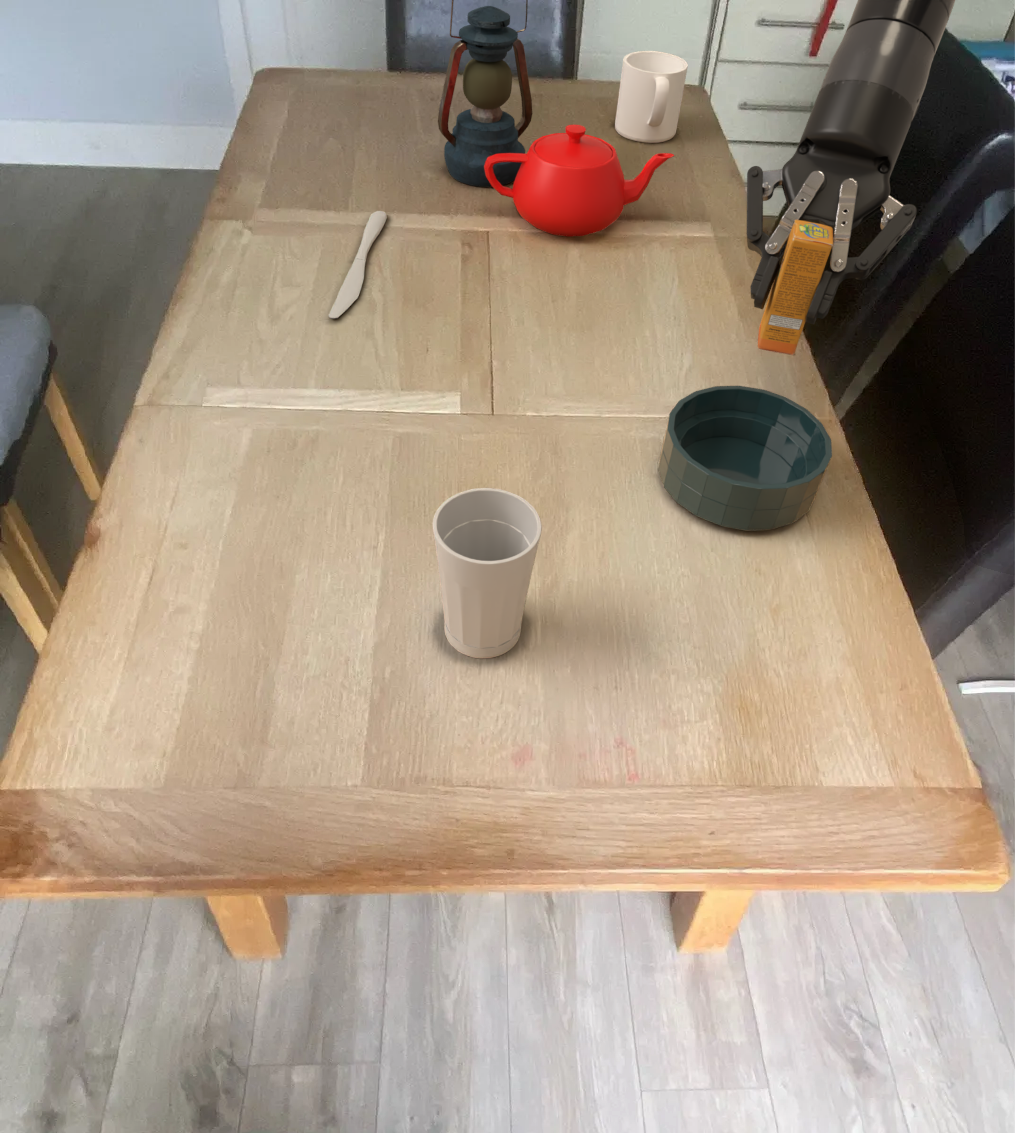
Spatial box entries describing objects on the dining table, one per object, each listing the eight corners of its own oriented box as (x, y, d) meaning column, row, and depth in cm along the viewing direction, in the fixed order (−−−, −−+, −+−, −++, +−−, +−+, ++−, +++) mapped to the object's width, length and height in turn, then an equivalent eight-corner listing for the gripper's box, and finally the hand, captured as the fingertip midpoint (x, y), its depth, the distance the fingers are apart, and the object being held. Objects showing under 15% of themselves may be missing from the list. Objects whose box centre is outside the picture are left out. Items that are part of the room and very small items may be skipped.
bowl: (810, 446, 93) (828, 399, 89) (814, 549, 83) (835, 501, 79) (664, 422, 95) (674, 375, 90) (650, 520, 85) (661, 471, 80)
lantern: (454, 195, 128) (456, -107, 103) (425, 161, 136) (420, -129, 110) (544, 182, 133) (567, -111, 107) (512, 149, 140) (526, -132, 114)
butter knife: (394, 211, 123) (373, 208, 123) (347, 320, 105) (321, 316, 105) (394, 215, 123) (373, 212, 123) (347, 324, 105) (321, 320, 105)
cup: (523, 673, 72) (533, 571, 63) (424, 658, 72) (421, 554, 64) (536, 599, 77) (548, 495, 68) (445, 585, 78) (445, 480, 69)
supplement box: (798, 357, 75) (834, 244, 68) (756, 350, 76) (788, 237, 68) (798, 335, 77) (834, 223, 70) (758, 329, 78) (789, 217, 70)
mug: (610, 117, 151) (618, 50, 143) (669, 119, 151) (680, 51, 144) (622, 149, 142) (632, 79, 135) (684, 150, 143) (697, 80, 135)
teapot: (481, 242, 119) (484, 148, 111) (483, 189, 130) (486, 100, 121) (669, 250, 120) (686, 158, 111) (655, 197, 131) (671, 109, 122)
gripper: (778, 58, 69) (695, 273, 71) (969, 98, 65) (878, 325, 67) (777, 108, 76) (703, 302, 78) (950, 146, 72) (868, 351, 74)
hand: (784, 312), depth 72 cm, fingers closed on supplement box, 3 cm apart
